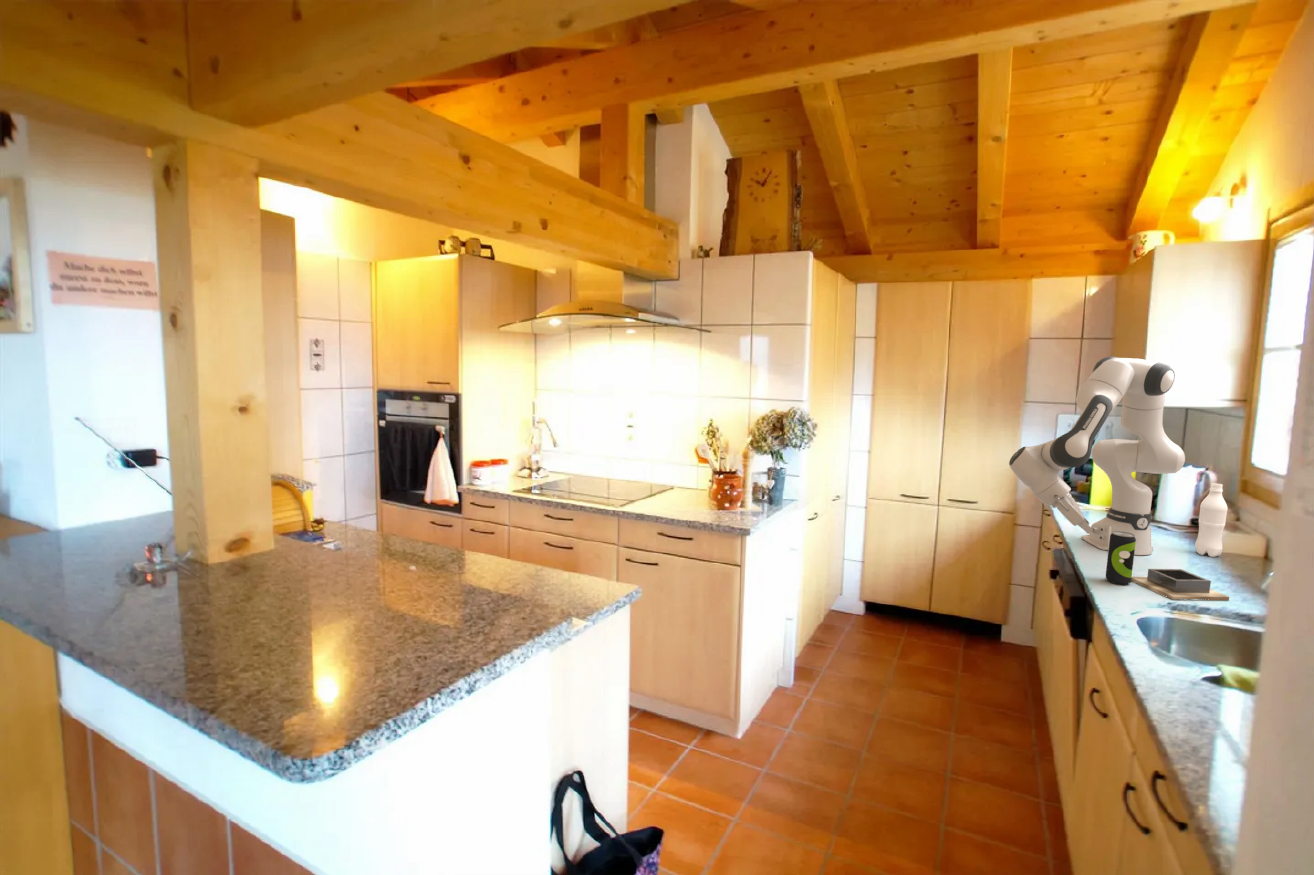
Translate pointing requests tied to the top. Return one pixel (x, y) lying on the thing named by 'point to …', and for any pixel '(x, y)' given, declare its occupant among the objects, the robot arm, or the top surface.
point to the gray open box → (1178, 581)
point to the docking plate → (1163, 591)
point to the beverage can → (1120, 557)
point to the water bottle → (1212, 522)
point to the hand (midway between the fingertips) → (1088, 528)
